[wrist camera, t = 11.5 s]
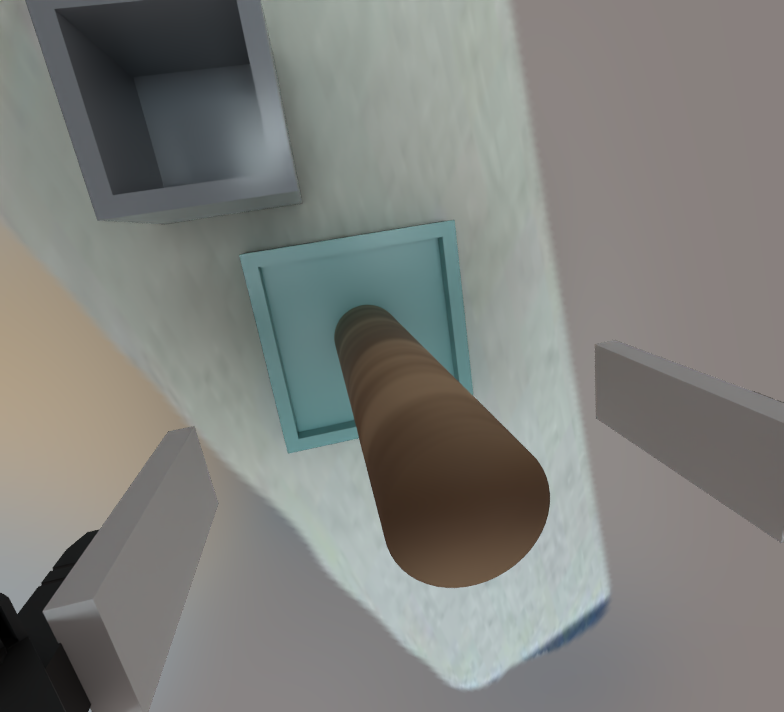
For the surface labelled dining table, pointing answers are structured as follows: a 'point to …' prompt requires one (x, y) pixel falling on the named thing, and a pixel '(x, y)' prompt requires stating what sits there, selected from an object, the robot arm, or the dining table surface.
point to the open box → (169, 106)
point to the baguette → (436, 459)
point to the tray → (336, 297)
